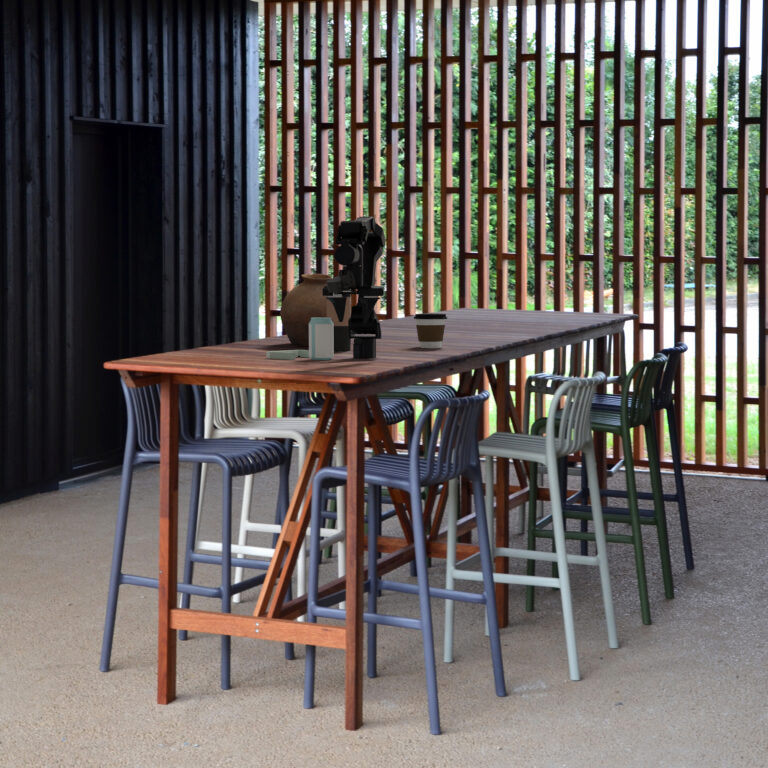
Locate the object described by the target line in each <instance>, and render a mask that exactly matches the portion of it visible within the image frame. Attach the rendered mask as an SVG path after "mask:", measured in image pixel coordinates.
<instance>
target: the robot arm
mask: <svg viewBox="0 0 768 768" xmlns="http://www.w3.org/2000/svg"><path fill="white" fill-rule="evenodd" d="M335 245H336V246H337V247H336V249H335V250H334V254H333V256H334V257H333V258H334V260H335V262H336V263H337V264H339V265H341V266H342V267H341V268H342V269H339V270H338V275H337V276H335V277H332V279H330V280H328V281H327V286H324V288H323V296H328V297H326V299H328V300H330V301H331V302H332V304H333V306H334V308H335V311H336V314H337V317H338V320H339V322H343V319H344V313H345V306H346V300H347V297H342V296H344V295H345V294H351V295H357V303H356V304H355V305H351V317H350V318H349V320H348V329H349V339H351V340H352V339H353V344H352V359H360V360H374V359H375V360H376V361H377V340H380V339H381V340H382V329H381V328H382V327H381V323H380V322H379V318H378V315H377V313H376V311H375V309H374V308H375V306H376V304H377V303H378V301H379V300H381V297H384V295H385V293H384V292H385V290H384V288H383V286H382V285H375V283H376V271H377V263H378V261H379V259H380V258H381V257H382V256H383V254H384V253H383V252H384V248H385V247H386V235H385V232H384V228H383V227H381V226H380V225H379V224H378V223H377V222H376V219H375V217H374V216H359V217H356V219H354V220H341V221H340V224H339V225H337V231H336V237H335ZM349 289H350V290H351V291H349Z"/></svg>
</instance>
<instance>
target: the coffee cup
mask: <svg viewBox="0 0 768 768" xmlns="http://www.w3.org/2000/svg"><path fill="white" fill-rule="evenodd" d="M413 319H414V320H415V322H416V325H415V327H416V334H417V341H418V343H419V344H418V345H419V348H422V349H440V348H442V344H443V340H444V334H445V328H446V320H447V319H448V316H447V314H446V313H415V314H414V317H413Z"/></svg>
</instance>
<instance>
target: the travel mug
mask: <svg viewBox="0 0 768 768" xmlns="http://www.w3.org/2000/svg"><path fill="white" fill-rule="evenodd" d="M349 291H351V289H349ZM351 296H352V294H345V295H344V296H342V297H347V300H346V306H345V313H344V319H343V322H339V320H338V317H337V314H336V311H335V308H334V306H333V304H332V302H331V301H330V300H328V299H327V318H331V320H332V322H333V324H334V352H339V351H341V352H350V351H351V348H352V347H351V346H352V345H351V344H352V343H351V342H352V339H349V329H348V320H349V318H350V317H351V308H352V297H351ZM327 297H328V296H327Z"/></svg>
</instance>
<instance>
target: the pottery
mask: <svg viewBox="0 0 768 768" xmlns="http://www.w3.org/2000/svg"><path fill="white" fill-rule="evenodd" d="M301 278H302V279H303V282H301V283H299V284H298V285H296V286H294V287H293V288H292V289H290V291H289V292H288V293H287V294H286V296H285V297H284V299H283V301H282V303H281V306H280V310H279V311H280V312H279V315H280V320H281V323H282V326H283V328H284V331H285V334H286V337H287V338H288V341H289V342H290V343H291V344H292V345H293V346H296V345H297V346H296V347H306V346H309V322H310V321H311V318H327V299H326V297H327V296H323V288H324V286H327V281H328V280H330V279H332V278H333V276H331V275H329V274H324V273H311V274H310V273H304V274H301Z"/></svg>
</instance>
